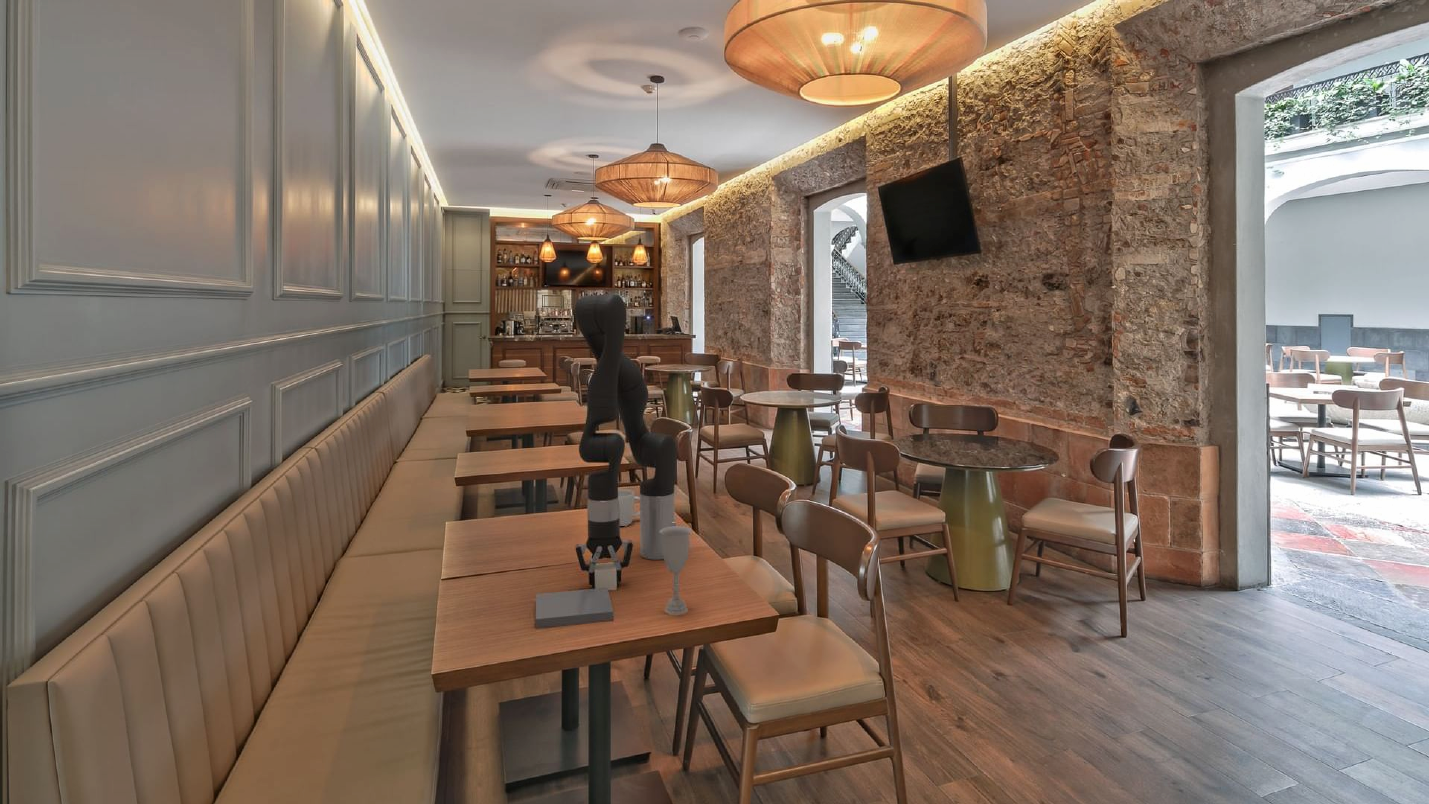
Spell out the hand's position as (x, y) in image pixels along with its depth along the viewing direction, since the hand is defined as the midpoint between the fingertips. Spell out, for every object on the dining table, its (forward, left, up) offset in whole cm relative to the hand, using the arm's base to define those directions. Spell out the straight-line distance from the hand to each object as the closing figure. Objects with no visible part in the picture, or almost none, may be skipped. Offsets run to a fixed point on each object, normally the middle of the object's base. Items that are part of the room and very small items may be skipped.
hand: (605, 584), depth 172 cm
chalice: (-14, +18, -1) cm, 23 cm away
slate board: (+8, +13, 0) cm, 15 cm away
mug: (-11, -52, -1) cm, 53 cm away
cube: (0, 0, 0) cm, 0 cm away
